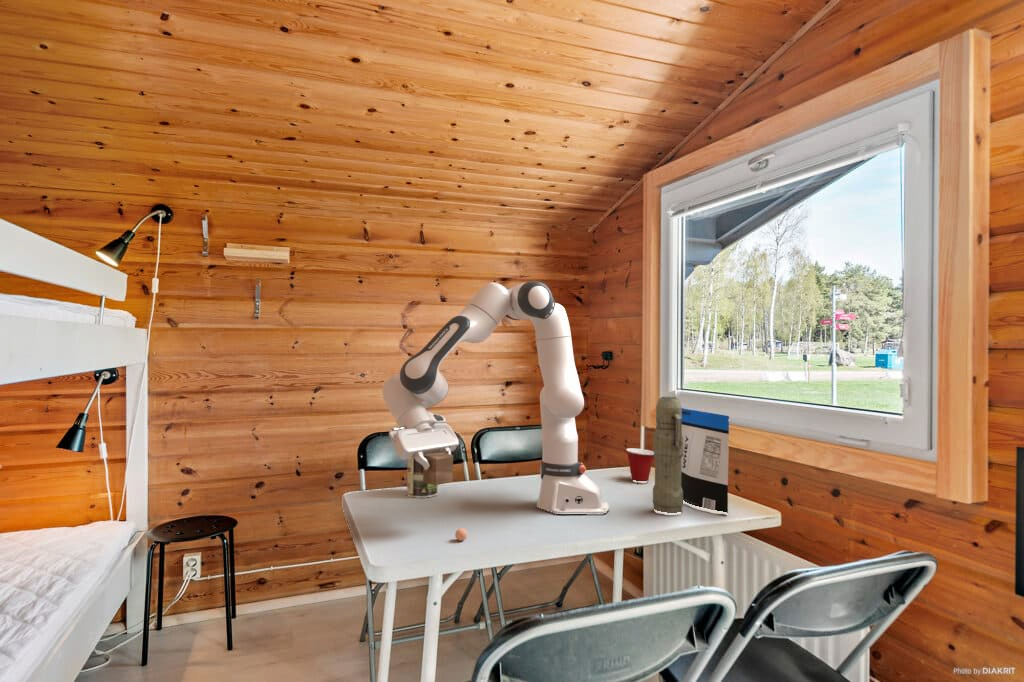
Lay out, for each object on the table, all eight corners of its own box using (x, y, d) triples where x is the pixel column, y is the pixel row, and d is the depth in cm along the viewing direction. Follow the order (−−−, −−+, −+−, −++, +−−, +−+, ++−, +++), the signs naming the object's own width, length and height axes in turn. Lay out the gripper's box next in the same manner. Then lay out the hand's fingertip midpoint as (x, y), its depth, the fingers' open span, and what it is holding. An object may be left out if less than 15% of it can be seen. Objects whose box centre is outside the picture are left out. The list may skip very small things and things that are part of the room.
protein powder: (714, 517, 175) (716, 416, 175) (666, 497, 197) (667, 408, 198) (740, 514, 178) (741, 415, 178) (689, 495, 201) (690, 407, 201)
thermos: (667, 505, 187) (668, 395, 188) (691, 515, 176) (693, 398, 177) (643, 507, 184) (645, 395, 184) (667, 518, 173) (669, 399, 173)
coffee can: (444, 493, 199) (444, 451, 199) (424, 500, 190) (424, 456, 190) (420, 489, 204) (421, 448, 204) (400, 495, 195) (400, 452, 195)
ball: (467, 538, 152) (468, 527, 152) (465, 542, 149) (465, 530, 149) (456, 538, 152) (456, 526, 152) (454, 542, 149) (454, 530, 149)
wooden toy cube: (423, 482, 157) (423, 455, 157) (440, 478, 161) (440, 452, 162) (435, 485, 154) (436, 457, 154) (452, 481, 158) (453, 454, 158)
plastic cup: (658, 485, 214) (659, 452, 214) (629, 485, 214) (629, 452, 214) (651, 479, 225) (651, 447, 225) (623, 478, 225) (623, 447, 225)
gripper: (391, 421, 154) (415, 464, 148) (448, 415, 170) (472, 454, 164) (380, 436, 157) (403, 479, 151) (437, 429, 173) (460, 467, 166)
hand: (439, 465), depth 157 cm, fingers closed on wooden toy cube, 6 cm apart
